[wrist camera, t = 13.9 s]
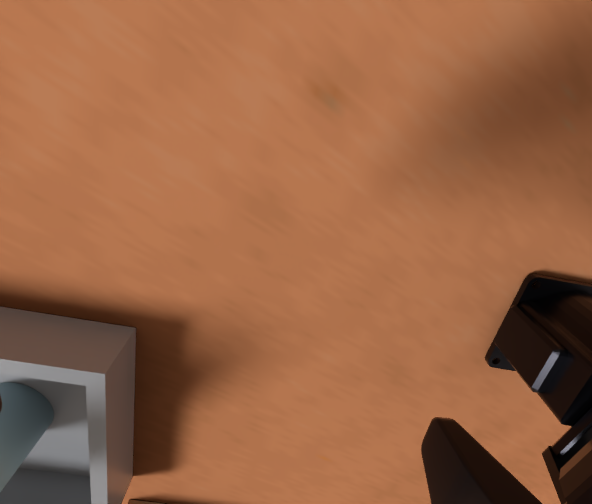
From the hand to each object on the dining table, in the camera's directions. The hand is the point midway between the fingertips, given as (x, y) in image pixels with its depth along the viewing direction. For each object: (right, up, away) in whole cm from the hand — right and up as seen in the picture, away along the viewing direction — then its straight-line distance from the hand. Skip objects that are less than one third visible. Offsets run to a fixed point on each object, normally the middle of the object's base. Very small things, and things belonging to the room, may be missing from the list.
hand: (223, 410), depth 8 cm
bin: (-17, -6, +17) cm, 25 cm away
